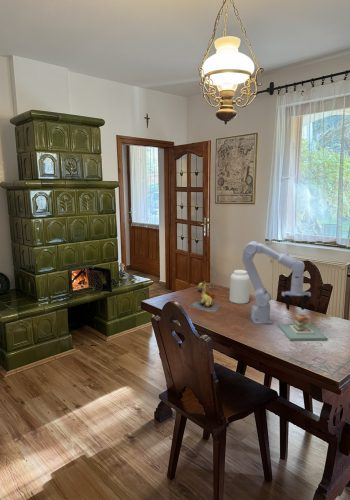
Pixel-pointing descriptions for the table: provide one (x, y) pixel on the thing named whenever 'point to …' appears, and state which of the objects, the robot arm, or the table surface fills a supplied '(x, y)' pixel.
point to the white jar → (239, 287)
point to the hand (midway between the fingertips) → (295, 309)
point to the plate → (302, 333)
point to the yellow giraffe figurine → (205, 299)
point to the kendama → (208, 293)
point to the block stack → (301, 323)
